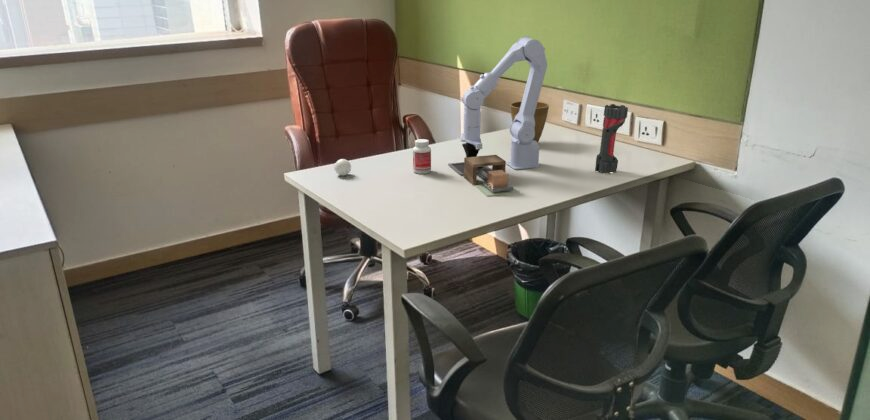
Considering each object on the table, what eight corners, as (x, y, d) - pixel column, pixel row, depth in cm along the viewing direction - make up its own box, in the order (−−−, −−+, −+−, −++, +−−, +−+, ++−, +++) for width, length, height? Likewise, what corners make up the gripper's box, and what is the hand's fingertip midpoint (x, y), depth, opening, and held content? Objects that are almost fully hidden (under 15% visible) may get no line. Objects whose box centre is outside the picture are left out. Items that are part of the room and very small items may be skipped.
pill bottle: (434, 172, 223) (434, 141, 219) (419, 175, 219) (419, 144, 215) (424, 167, 227) (424, 137, 223) (409, 170, 224) (409, 139, 220)
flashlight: (625, 172, 222) (632, 106, 214) (611, 176, 218) (618, 109, 209) (607, 166, 228) (613, 102, 220) (592, 171, 223) (598, 105, 215)
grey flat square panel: (479, 162, 234) (479, 160, 234) (493, 172, 222) (493, 170, 222) (448, 165, 230) (448, 163, 230) (461, 176, 219) (461, 174, 218)
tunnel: (495, 174, 220) (495, 154, 218) (505, 181, 213) (505, 161, 211) (464, 177, 217) (464, 157, 214) (472, 185, 210) (473, 164, 207)
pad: (506, 182, 212) (506, 181, 212) (519, 192, 203) (519, 191, 203) (475, 186, 209) (475, 185, 209) (487, 196, 200) (487, 195, 200)
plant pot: (553, 143, 256) (556, 104, 251) (532, 151, 246) (535, 110, 240) (522, 137, 266) (524, 98, 260) (501, 144, 255) (502, 104, 249)
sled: (482, 166, 225) (482, 154, 223) (513, 189, 203) (513, 175, 201) (463, 168, 223) (463, 155, 221) (492, 192, 200) (493, 178, 199)
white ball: (355, 175, 220) (354, 159, 218) (342, 178, 216) (341, 162, 214) (340, 170, 225) (339, 154, 223) (327, 174, 221) (326, 158, 219)
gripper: (453, 122, 225) (453, 159, 230) (468, 131, 213) (468, 171, 217) (472, 120, 227) (471, 157, 232) (488, 130, 215) (487, 169, 220)
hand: (471, 164), depth 225 cm, fingers closed
